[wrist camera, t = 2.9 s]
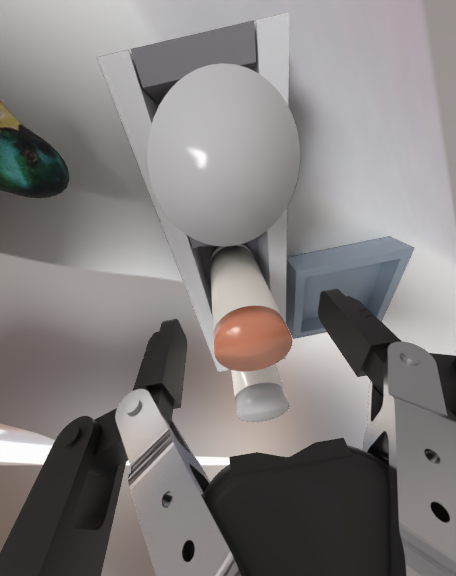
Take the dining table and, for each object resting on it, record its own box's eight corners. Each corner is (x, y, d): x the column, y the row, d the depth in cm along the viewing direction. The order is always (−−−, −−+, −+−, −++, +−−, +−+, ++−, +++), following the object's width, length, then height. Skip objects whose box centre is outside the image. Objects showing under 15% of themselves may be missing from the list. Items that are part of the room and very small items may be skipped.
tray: (285, 321, 23) (293, 338, 21) (285, 257, 18) (296, 271, 16) (365, 305, 23) (381, 321, 21) (389, 236, 18) (414, 247, 15)
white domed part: (192, 198, 13) (178, 257, 6) (175, 131, 11) (114, 86, 4) (244, 187, 13) (297, 232, 6) (236, 117, 11) (305, 42, 3)
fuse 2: (228, 331, 21) (240, 425, 14) (222, 308, 19) (232, 404, 12) (259, 325, 21) (288, 416, 14) (257, 301, 19) (289, 393, 12)
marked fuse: (214, 281, 17) (222, 376, 10) (205, 244, 15) (205, 331, 8) (254, 273, 17) (291, 363, 10) (249, 235, 15) (293, 314, 8)
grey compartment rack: (212, 342, 24) (213, 375, 20) (118, 78, 10) (71, 39, 7) (277, 329, 24) (290, 360, 20) (270, 43, 10) (306, -16, 6)
